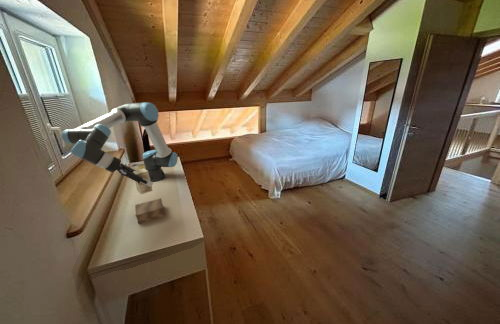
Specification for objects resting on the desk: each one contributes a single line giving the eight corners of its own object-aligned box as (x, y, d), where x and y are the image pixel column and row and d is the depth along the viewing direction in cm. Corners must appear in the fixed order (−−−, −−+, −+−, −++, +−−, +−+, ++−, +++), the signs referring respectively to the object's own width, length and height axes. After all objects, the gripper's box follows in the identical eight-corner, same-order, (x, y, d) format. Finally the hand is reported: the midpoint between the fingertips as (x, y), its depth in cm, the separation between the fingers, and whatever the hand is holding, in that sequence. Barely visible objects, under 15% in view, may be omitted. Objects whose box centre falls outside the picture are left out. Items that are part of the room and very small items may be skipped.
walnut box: (162, 206, 133) (161, 198, 131) (165, 216, 123) (163, 207, 120) (137, 213, 127) (135, 204, 125) (138, 224, 116) (135, 215, 114)
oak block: (148, 187, 123) (144, 168, 119) (152, 190, 119) (148, 170, 115) (137, 191, 119) (132, 171, 115) (141, 194, 115) (136, 174, 111)
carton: (138, 174, 184) (137, 170, 182) (138, 168, 198) (137, 164, 196) (148, 172, 187) (147, 168, 186) (148, 166, 201) (147, 162, 199)
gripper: (103, 163, 112) (143, 182, 126) (105, 175, 97) (150, 194, 111) (112, 152, 113) (150, 171, 127) (115, 161, 98) (158, 182, 112)
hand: (150, 182), depth 119 cm, fingers closed on oak block, 7 cm apart
